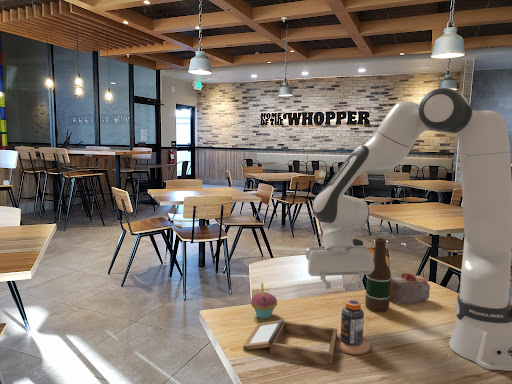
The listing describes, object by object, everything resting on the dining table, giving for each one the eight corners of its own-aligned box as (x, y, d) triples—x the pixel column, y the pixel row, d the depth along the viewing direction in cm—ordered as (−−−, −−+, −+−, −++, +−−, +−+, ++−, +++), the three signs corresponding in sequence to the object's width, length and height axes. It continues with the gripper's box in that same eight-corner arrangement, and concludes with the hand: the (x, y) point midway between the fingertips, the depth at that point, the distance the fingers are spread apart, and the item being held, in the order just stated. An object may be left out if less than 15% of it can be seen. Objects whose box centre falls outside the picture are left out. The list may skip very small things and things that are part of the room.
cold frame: (336, 339, 107) (337, 326, 107) (331, 365, 94) (332, 351, 94) (280, 330, 112) (280, 317, 112) (267, 354, 99) (267, 340, 99)
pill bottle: (337, 336, 107) (339, 297, 106) (358, 335, 107) (360, 297, 106) (344, 347, 101) (345, 306, 100) (365, 346, 102) (367, 306, 100)
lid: (281, 330, 112) (282, 320, 112) (269, 354, 99) (269, 343, 98) (258, 326, 114) (258, 316, 114) (243, 349, 101) (243, 338, 101)
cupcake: (272, 323, 117) (273, 285, 115) (246, 318, 119) (246, 282, 118) (279, 311, 125) (280, 276, 123) (255, 308, 127) (255, 273, 126)
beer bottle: (390, 313, 124) (394, 242, 122) (366, 311, 126) (369, 240, 123) (387, 304, 132) (391, 236, 129) (364, 302, 133) (367, 235, 131)
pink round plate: (370, 339, 108) (370, 335, 108) (369, 357, 98) (369, 353, 98) (334, 333, 111) (334, 330, 110) (330, 350, 101) (330, 347, 101)
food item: (415, 294, 141) (417, 269, 140) (431, 303, 134) (433, 276, 133) (384, 298, 137) (385, 272, 136) (398, 307, 130) (400, 279, 129)
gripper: (305, 243, 119) (310, 285, 112) (370, 240, 119) (379, 283, 112) (304, 251, 125) (308, 292, 117) (366, 249, 125) (374, 290, 117)
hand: (343, 288), depth 114 cm, fingers open, 8 cm apart
